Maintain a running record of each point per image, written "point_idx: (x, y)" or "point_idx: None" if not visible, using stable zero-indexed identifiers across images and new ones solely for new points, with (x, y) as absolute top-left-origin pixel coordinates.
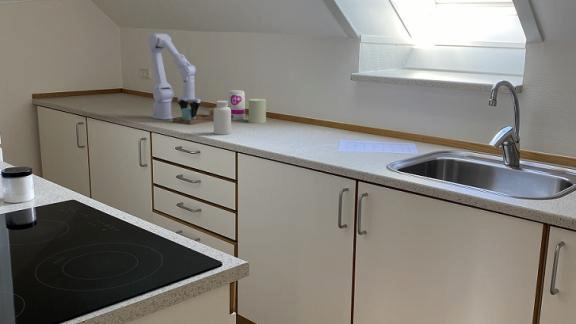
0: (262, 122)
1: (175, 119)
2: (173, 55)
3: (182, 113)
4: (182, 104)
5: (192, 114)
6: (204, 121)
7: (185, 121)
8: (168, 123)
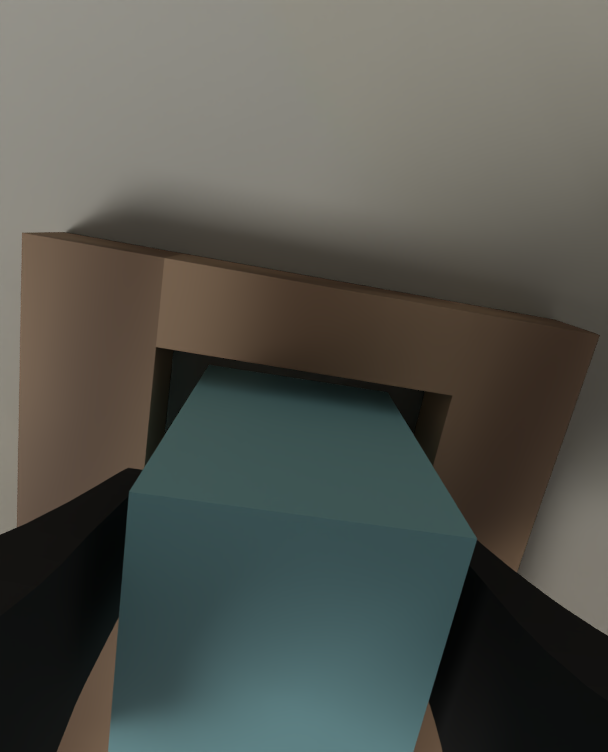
0: None
1: (508, 316)
2: None
3: (417, 462)
4: (574, 738)
5: (111, 484)
6: None
7: (205, 262)
8: (547, 125)
